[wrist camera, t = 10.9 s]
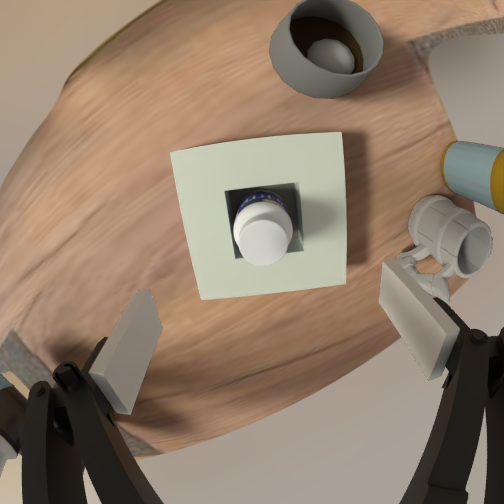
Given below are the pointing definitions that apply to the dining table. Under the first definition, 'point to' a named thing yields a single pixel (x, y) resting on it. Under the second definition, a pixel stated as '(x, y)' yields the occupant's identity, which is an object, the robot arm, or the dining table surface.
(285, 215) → the pill bottle
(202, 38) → the dining table surface
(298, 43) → the cup
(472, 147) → the bottle
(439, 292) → the mug
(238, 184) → the socket block
